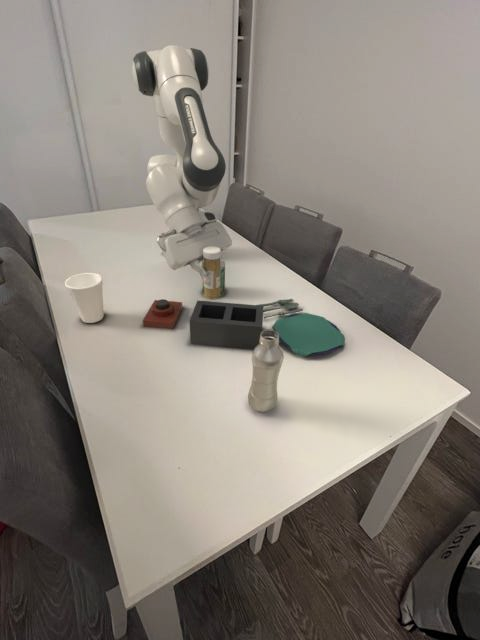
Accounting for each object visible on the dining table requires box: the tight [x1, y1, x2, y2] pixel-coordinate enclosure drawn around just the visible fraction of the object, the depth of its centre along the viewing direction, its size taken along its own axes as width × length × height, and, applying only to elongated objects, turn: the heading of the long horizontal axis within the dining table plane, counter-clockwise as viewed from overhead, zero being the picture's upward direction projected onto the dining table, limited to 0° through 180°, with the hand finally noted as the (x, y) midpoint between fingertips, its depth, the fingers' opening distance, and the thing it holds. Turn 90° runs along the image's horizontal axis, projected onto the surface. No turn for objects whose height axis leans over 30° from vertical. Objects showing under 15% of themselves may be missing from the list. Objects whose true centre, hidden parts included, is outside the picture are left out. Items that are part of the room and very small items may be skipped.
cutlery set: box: [258, 298, 346, 357], centre depth 102 cm, size 20×30×2 cm, turn 23°
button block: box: [142, 299, 183, 330], centre depth 104 cm, size 12×9×4 cm
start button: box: [156, 298, 169, 310], centre depth 103 cm, size 4×4×2 cm
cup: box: [64, 272, 104, 324], centre depth 99 cm, size 10×10×13 cm
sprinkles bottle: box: [202, 246, 222, 300], centre depth 87 cm, size 5×5×13 cm
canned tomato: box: [201, 260, 226, 297], centre depth 116 cm, size 8×8×11 cm
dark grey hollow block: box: [189, 299, 265, 351], centre depth 96 cm, size 11×20×8 cm, turn 85°
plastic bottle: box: [247, 329, 285, 413], centre depth 72 cm, size 6×7×20 cm
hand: (213, 272), depth 87 cm, fingers closed on sprinkles bottle, 4 cm apart
